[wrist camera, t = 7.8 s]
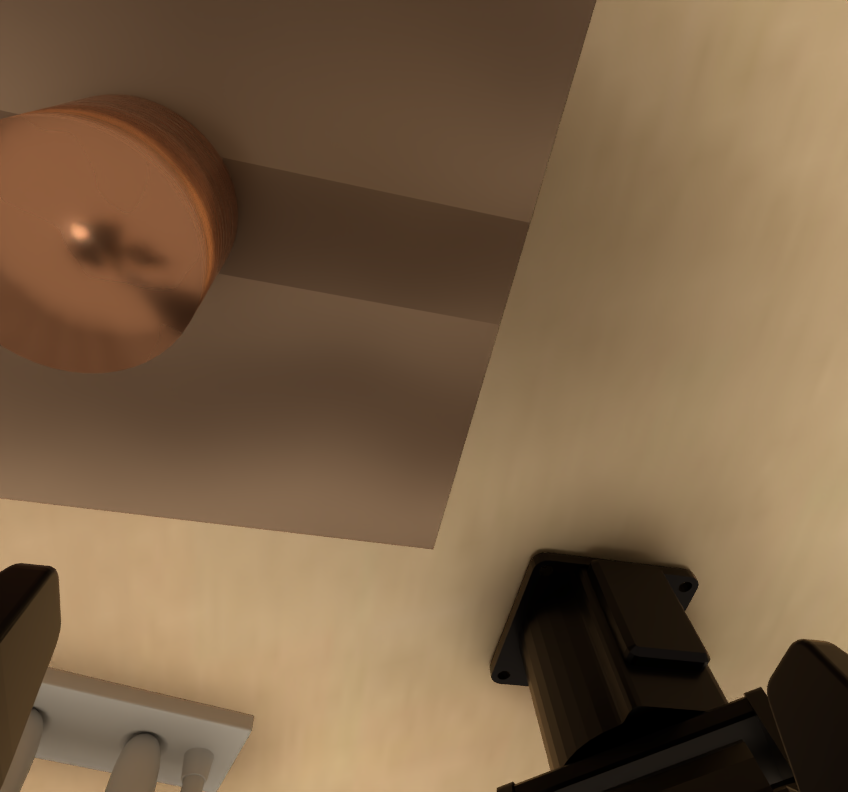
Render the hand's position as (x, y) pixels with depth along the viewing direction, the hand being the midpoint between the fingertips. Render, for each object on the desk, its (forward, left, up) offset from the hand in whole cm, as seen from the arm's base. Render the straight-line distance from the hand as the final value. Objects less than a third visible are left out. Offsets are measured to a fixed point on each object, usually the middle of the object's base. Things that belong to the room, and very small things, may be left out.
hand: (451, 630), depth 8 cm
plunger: (+2, +6, -12) cm, 14 cm away
